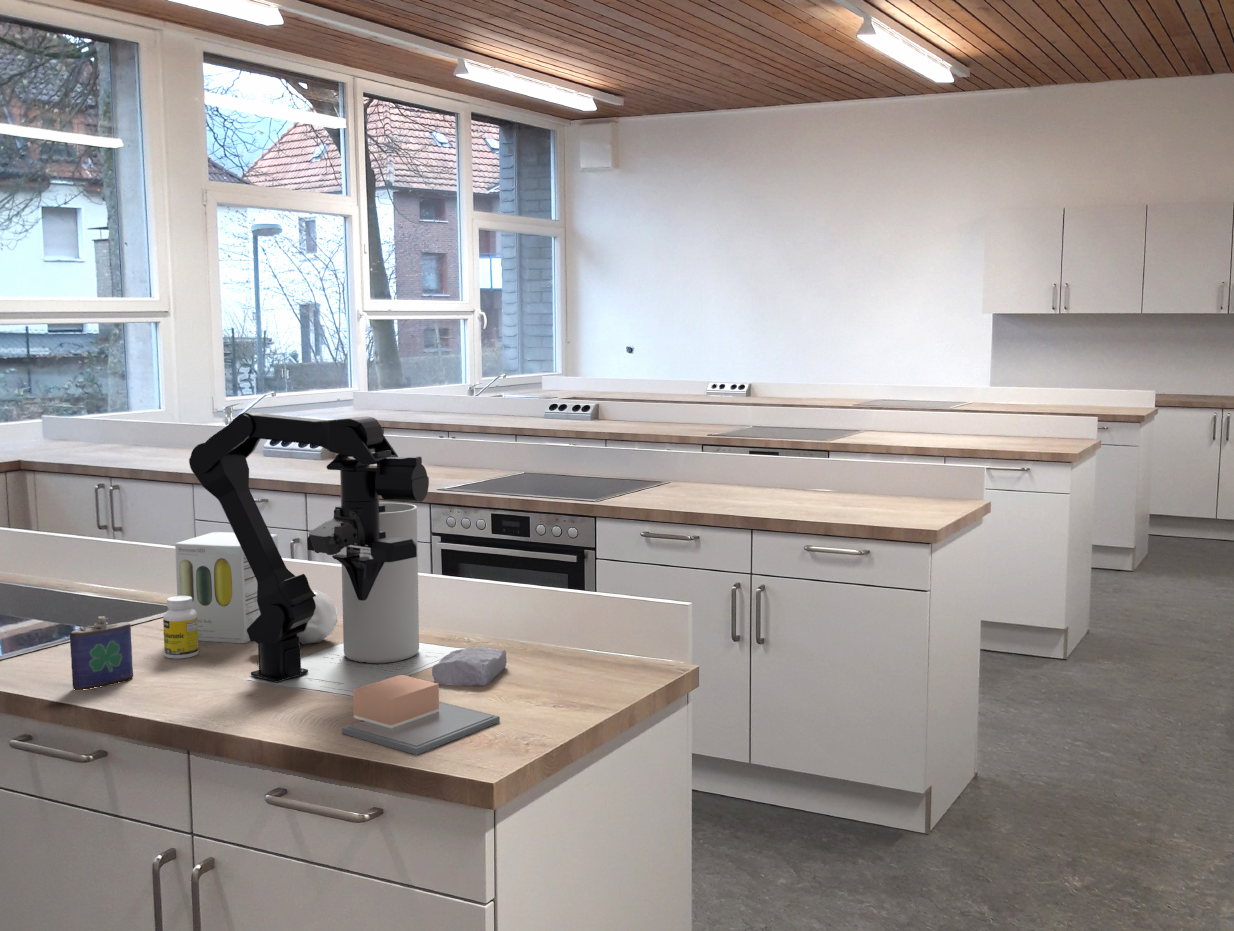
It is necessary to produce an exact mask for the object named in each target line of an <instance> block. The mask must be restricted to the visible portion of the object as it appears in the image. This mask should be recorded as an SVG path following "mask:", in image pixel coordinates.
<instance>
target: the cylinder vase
mask: <svg viewBox="0 0 1234 931" xmlns="http://www.w3.org/2000/svg"><path fill="white" fill-rule="evenodd" d="M379 505H385V512H380V531H384V532H386V538H384V539H388V538H393V537H401V538H408V539H412V540H413V541H414V542H415V543H416V544H417V545H418V507H417V505H414V504H412V503H404V502H403V503H402V502H379ZM379 540H382V539H379ZM354 544H355V543H354ZM365 546H368V545H365ZM418 549H419V548H417V557H414V558H410V559H405V560H400V561H395V562H385V563H384V565H383V566H382V568H381V570H380V572H379V574H378V576H377V578H376V580H375V582H374V584H373V587H372V589H371V591H370V593H369V595H368V598H367V599H366V600H364V601H361V600H358V598H357V595H356V593H355V590H354V587H353V585H352V582H351V579H350V577H349V574H348V572H347V570H346V568H345V566H344V565H343V564H342V563H341V589H342V590H341V592H342V593H341V594H342V597H341V599H342V631H343V633H342V635H343V638H342V639H343V654H344V656H345V657H346V658H347V659H348V660H351V661H353V660H354V661H353V662H357V661H359V662H358V663H363V662H367V663H366V664H386V663H387V662H388V663H394V662H400V661H404V660H407V659H410V658H413V657H414V656H415V655H417V653H418V652H419V650H420V618H419V612H420V611H419V610H420V609H419V566H418V565H419V564H418V562H419V561H418V560H419V559H418V558H419V557H418V556H419V554H418V553H419V552H418ZM388 663H387V664H388Z"/></svg>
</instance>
